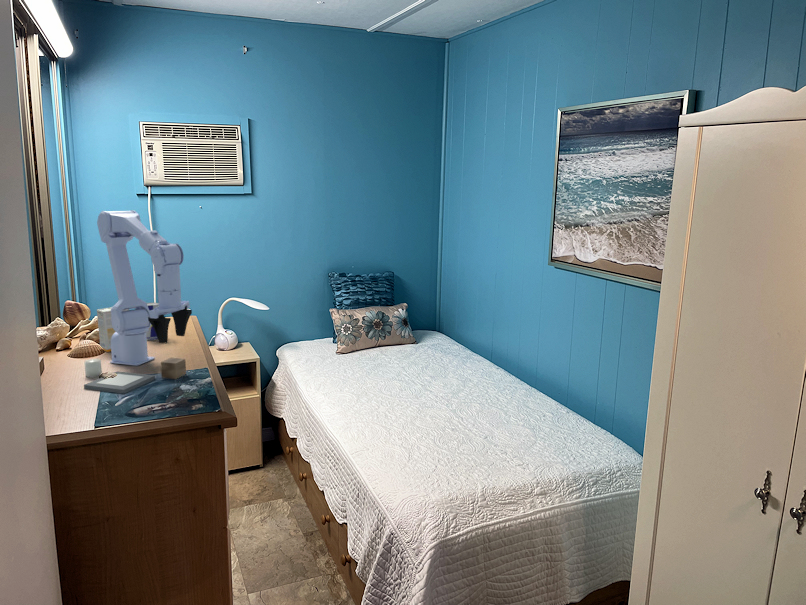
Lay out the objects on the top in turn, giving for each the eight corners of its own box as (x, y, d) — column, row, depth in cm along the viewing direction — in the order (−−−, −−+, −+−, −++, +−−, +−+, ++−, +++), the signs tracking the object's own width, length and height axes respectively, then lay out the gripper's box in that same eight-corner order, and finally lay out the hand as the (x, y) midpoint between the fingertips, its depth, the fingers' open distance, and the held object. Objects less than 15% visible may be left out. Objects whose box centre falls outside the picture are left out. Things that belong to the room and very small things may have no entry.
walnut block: (161, 377, 163) (160, 362, 162) (172, 373, 167) (171, 357, 166) (176, 379, 162) (175, 363, 161) (186, 374, 166) (185, 359, 165)
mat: (84, 388, 153) (83, 384, 153) (117, 374, 164) (117, 370, 164) (124, 393, 150) (123, 389, 150) (155, 379, 161) (154, 375, 161)
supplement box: (125, 344, 195) (122, 305, 192) (132, 347, 192) (129, 307, 189) (99, 349, 189) (96, 308, 186) (106, 352, 186) (103, 311, 183)
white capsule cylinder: (82, 376, 163) (80, 362, 162) (93, 372, 167) (92, 358, 166) (94, 377, 162) (93, 363, 161) (105, 373, 166) (104, 359, 165)
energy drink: (145, 341, 199) (142, 306, 197) (143, 337, 204) (141, 303, 201) (162, 339, 202) (160, 304, 199) (160, 336, 206) (158, 302, 204)
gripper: (164, 295, 152) (167, 347, 155) (198, 286, 166) (200, 334, 168) (141, 293, 154) (144, 344, 156) (176, 284, 168) (178, 332, 170)
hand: (172, 339), depth 163 cm, fingers open, 7 cm apart
